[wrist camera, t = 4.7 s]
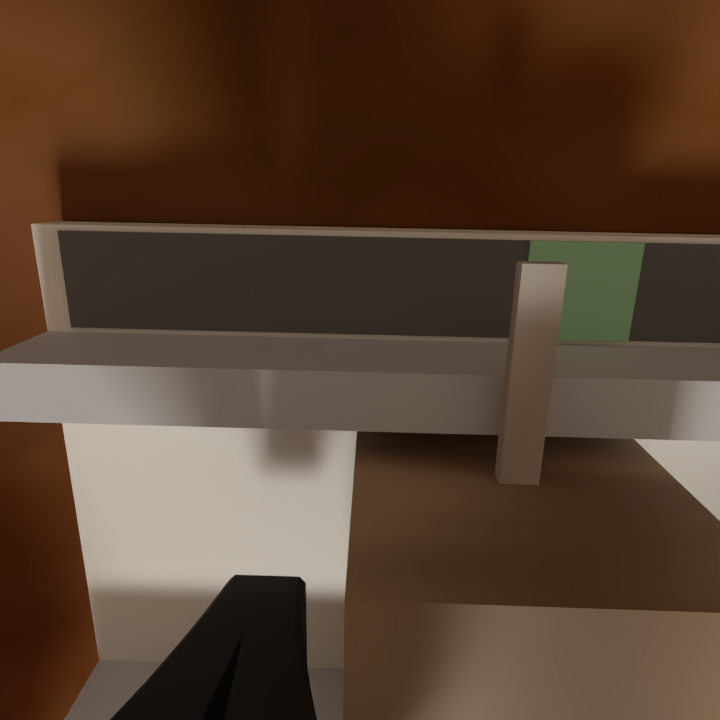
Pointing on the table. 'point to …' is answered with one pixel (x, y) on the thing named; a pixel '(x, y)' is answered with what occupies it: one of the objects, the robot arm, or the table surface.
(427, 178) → the table surface
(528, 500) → the gauge slider
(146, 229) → the gauge base
